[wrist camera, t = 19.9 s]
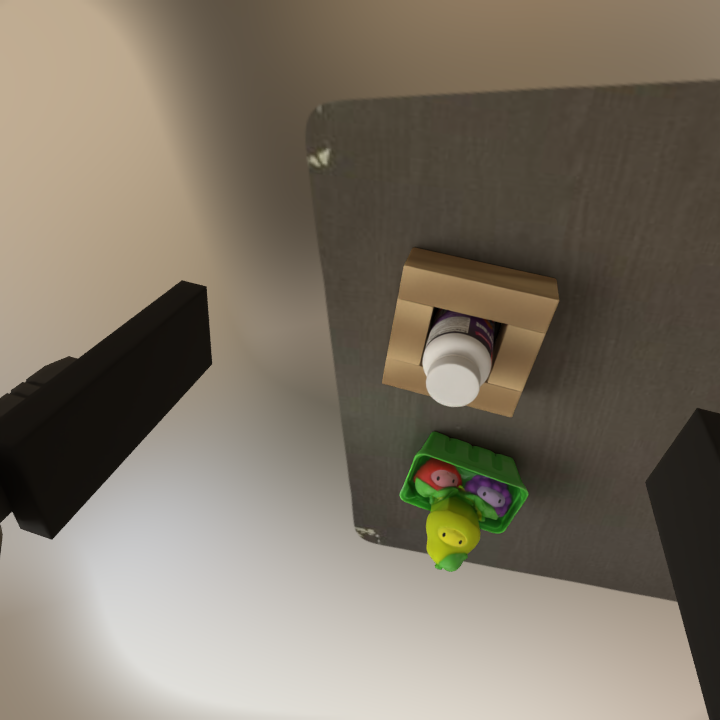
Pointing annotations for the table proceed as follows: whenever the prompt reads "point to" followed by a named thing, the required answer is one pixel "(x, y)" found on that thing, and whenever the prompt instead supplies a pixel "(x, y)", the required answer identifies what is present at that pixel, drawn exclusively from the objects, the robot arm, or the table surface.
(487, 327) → the pill bottle
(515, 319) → the block
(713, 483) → the robot arm
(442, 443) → the fruit basket
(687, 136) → the table surface
